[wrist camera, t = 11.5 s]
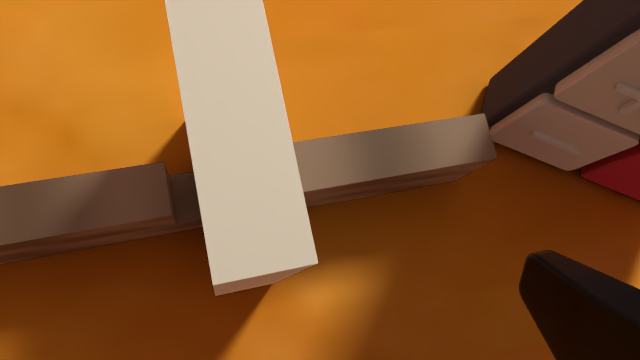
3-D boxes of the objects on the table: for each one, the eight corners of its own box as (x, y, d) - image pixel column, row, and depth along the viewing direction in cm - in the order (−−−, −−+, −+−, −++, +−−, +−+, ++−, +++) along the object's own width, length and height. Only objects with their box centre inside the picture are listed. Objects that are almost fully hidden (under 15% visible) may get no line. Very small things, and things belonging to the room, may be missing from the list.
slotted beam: (444, 142, 25) (484, 113, 22) (455, 180, 25) (497, 157, 21) (-53, 223, 20) (-115, 203, 16) (-49, 273, 20) (-113, 265, 16)
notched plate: (272, 283, 22) (318, 263, 12) (215, 296, 22) (213, 285, 12) (240, 112, 24) (256, -30, 14) (185, 120, 23) (160, -24, 13)
